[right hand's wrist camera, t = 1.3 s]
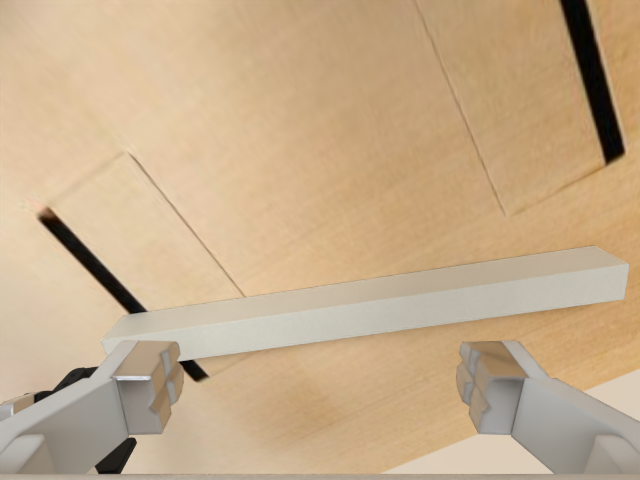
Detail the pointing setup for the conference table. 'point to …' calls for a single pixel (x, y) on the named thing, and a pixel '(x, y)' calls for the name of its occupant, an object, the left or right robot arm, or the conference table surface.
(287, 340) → the beam
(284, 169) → the conference table surface
